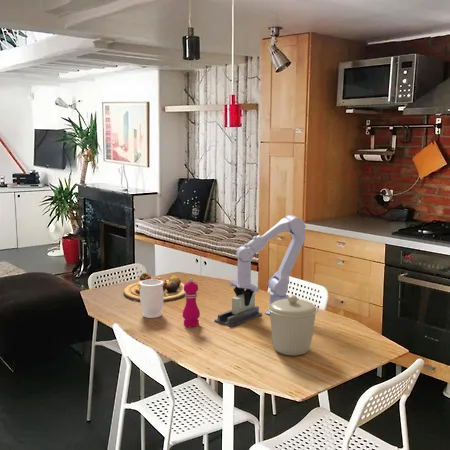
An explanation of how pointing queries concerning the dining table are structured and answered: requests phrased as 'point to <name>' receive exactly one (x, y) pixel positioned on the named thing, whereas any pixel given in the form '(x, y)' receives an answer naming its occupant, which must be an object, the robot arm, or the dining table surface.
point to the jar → (151, 297)
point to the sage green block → (241, 304)
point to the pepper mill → (191, 304)
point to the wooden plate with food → (170, 287)
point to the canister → (292, 325)
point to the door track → (238, 317)
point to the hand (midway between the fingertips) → (243, 304)
